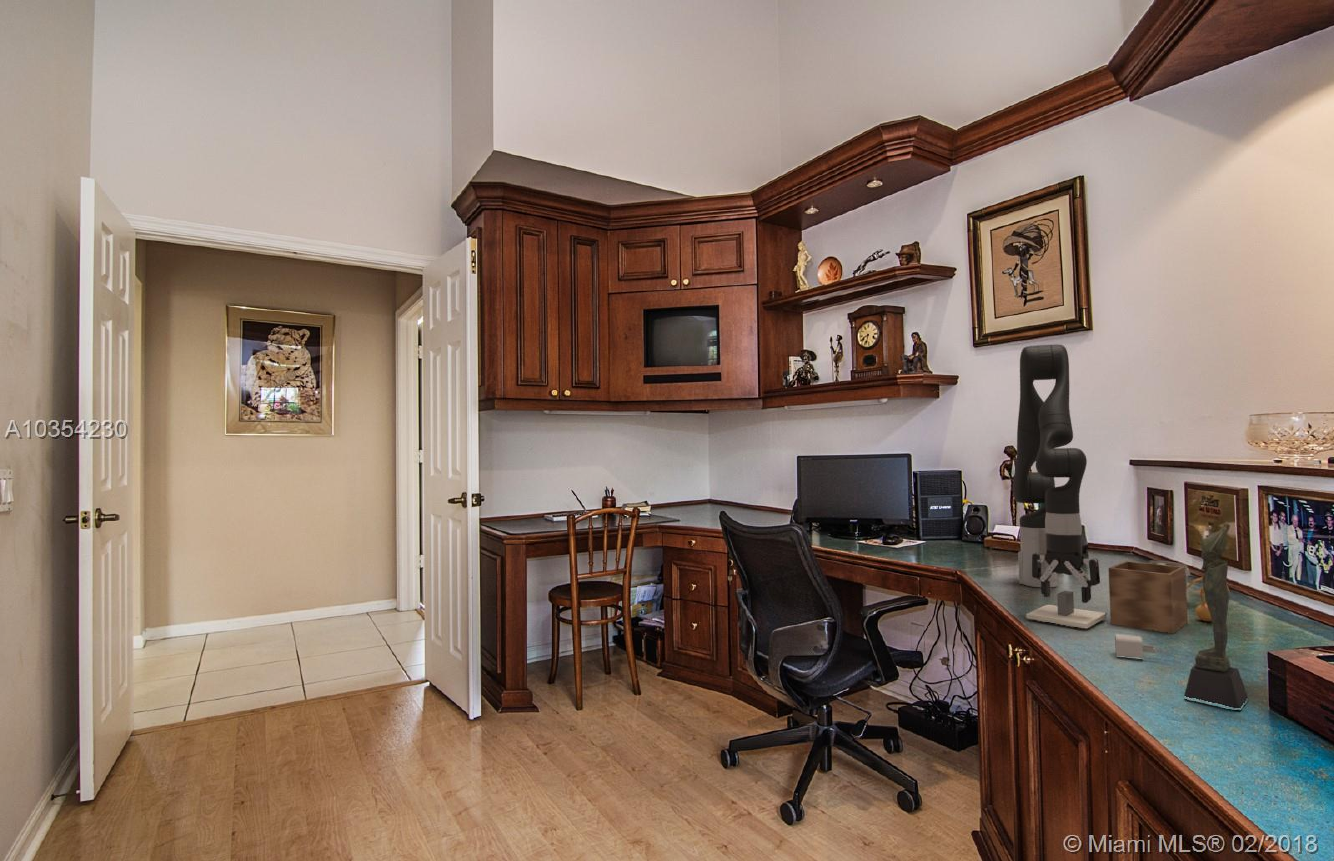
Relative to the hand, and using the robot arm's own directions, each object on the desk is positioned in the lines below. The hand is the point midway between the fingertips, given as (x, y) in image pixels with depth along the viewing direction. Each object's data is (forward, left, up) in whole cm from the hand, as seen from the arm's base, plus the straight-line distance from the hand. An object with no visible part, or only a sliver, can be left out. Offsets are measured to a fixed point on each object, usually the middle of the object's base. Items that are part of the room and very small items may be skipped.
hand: (1065, 599), depth 162 cm
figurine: (+23, +20, -5) cm, 31 cm away
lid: (0, 0, -4) cm, 4 cm away
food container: (+13, +36, -5) cm, 39 cm away
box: (+14, +10, -5) cm, 18 cm away
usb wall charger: (+20, -19, -5) cm, 28 cm away
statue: (+35, -35, -5) cm, 50 cm away
